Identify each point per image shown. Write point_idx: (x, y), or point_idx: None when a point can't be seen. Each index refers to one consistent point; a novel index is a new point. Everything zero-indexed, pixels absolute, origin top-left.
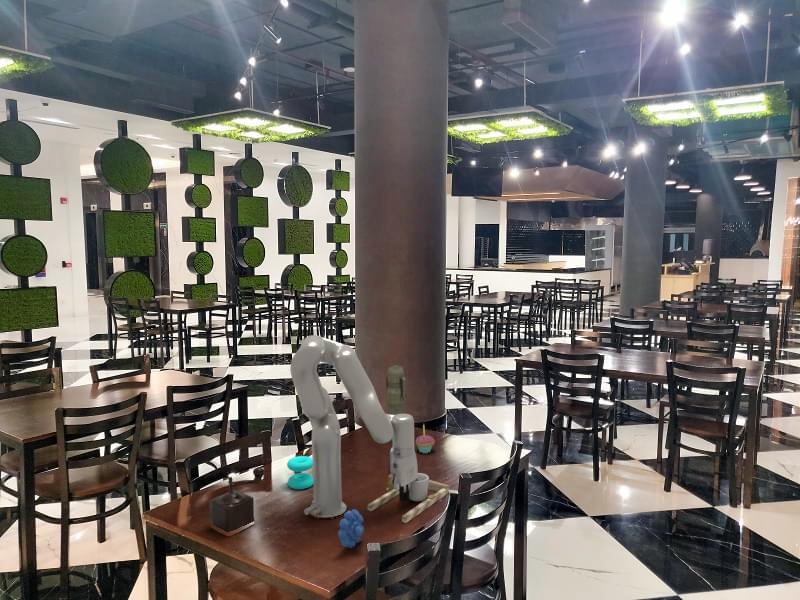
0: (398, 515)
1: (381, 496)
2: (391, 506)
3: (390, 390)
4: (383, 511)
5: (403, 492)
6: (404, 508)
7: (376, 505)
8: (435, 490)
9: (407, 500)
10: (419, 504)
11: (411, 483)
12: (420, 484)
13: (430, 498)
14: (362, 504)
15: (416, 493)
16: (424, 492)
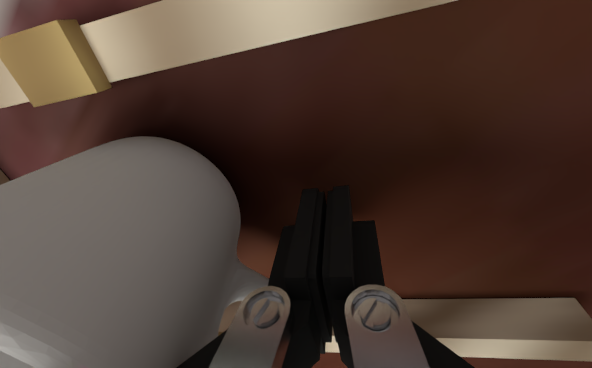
0: (544, 108)
1: None
2: (410, 249)
3: None
4: (526, 244)
5: (387, 298)
6: (373, 163)
7: (507, 316)
8: (2, 182)
9: (335, 195)
10: (290, 32)
11: (170, 358)
12: (40, 262)
13: (83, 44)
14: (493, 361)
15: (188, 206)
16: (92, 160)
